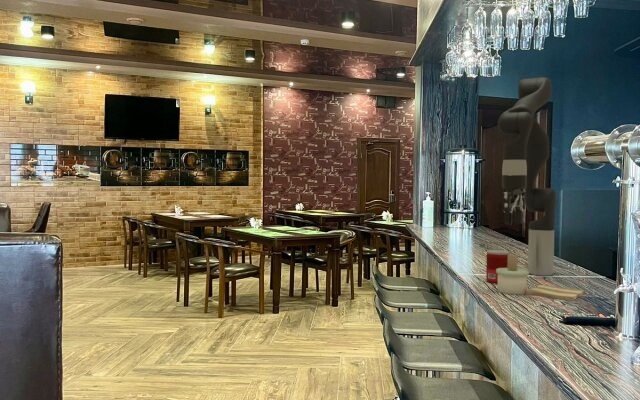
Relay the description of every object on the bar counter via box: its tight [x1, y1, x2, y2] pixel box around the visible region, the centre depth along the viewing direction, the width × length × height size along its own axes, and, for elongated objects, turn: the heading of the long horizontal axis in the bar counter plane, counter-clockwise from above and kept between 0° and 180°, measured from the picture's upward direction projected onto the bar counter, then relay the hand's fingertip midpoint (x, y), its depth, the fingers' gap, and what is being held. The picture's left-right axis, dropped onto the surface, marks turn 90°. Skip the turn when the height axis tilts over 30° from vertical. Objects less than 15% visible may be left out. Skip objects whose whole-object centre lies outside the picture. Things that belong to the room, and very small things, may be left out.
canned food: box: [485, 249, 511, 285], centre depth 197 cm, size 8×8×11 cm
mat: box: [525, 284, 586, 301], centre depth 177 cm, size 14×14×1 cm
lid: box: [496, 253, 530, 276], centre depth 180 cm, size 10×10×6 cm
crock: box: [497, 274, 528, 295], centre depth 180 cm, size 9×9×6 cm
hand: (513, 223), depth 180 cm, fingers open, 8 cm apart
